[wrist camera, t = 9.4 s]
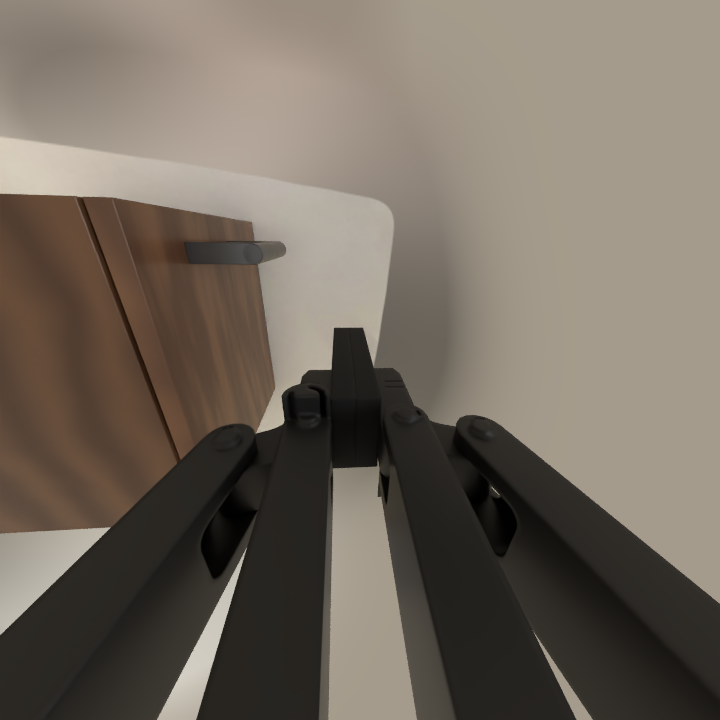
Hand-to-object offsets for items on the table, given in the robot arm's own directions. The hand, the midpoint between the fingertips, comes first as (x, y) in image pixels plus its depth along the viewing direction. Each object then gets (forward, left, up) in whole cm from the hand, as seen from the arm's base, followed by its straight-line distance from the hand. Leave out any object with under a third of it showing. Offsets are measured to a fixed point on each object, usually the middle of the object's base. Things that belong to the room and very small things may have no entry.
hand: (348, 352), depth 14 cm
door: (+6, -10, -28) cm, 31 cm away
